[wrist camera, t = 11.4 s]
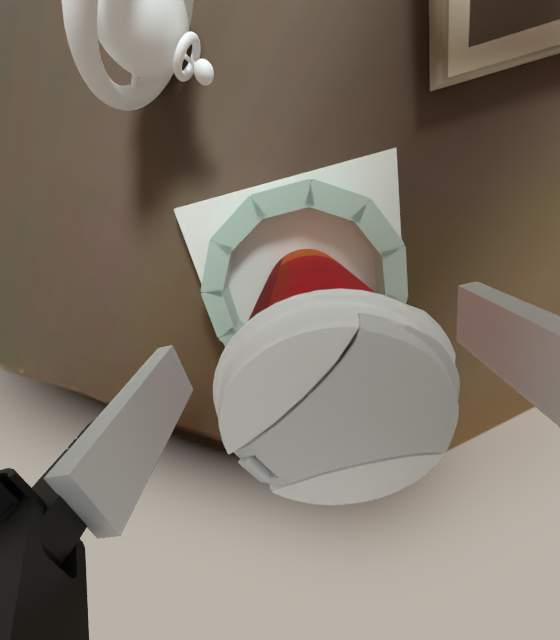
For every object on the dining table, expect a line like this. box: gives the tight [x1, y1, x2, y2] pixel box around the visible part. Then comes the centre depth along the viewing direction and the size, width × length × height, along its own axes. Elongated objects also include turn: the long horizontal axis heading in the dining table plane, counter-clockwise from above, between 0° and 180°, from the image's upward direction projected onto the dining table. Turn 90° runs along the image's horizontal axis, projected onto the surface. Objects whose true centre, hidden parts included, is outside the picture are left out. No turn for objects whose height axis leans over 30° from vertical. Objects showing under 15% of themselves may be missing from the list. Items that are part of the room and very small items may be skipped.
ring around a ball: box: [62, 0, 214, 111], centre depth 12 cm, size 8×6×8 cm
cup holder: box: [174, 148, 408, 347], centre depth 20 cm, size 15×15×3 cm
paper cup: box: [213, 249, 460, 505], centre depth 14 cm, size 8×8×14 cm
